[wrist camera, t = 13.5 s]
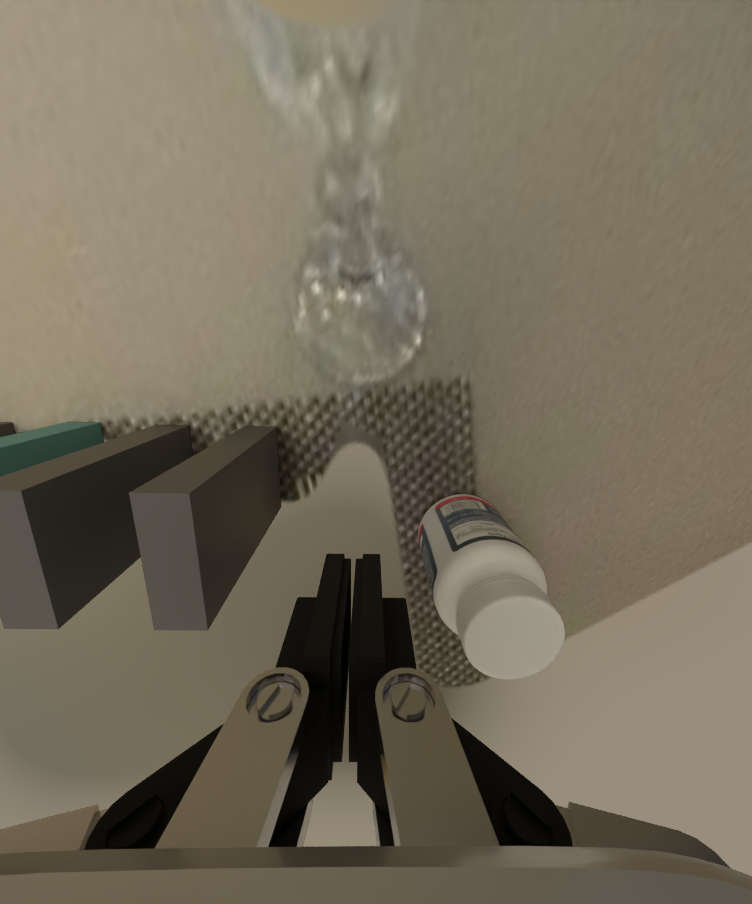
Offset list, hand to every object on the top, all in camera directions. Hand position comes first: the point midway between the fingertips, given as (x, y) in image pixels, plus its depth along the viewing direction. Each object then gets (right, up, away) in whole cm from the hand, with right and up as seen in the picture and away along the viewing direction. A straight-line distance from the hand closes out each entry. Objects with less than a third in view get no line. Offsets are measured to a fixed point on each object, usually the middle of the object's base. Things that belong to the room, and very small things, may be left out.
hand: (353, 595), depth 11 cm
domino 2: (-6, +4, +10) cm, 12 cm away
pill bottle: (+6, 0, +11) cm, 13 cm away
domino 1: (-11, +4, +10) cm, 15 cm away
